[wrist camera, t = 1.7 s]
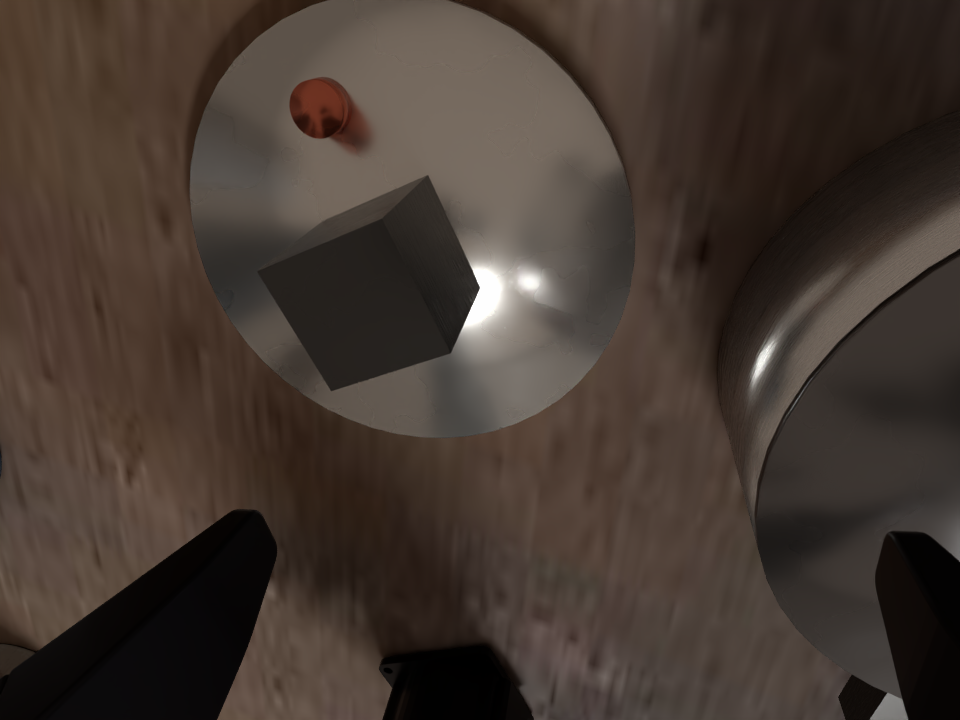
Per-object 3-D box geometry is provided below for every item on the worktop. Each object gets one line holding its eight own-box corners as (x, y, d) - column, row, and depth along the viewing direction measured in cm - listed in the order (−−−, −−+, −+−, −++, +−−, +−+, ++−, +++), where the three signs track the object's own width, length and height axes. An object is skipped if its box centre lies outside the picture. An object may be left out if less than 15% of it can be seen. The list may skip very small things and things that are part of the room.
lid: (341, 455, 27) (283, 554, 22) (126, 120, 21) (-17, 155, 17) (689, 361, 22) (711, 463, 17) (530, -117, 16) (494, -167, 11)
